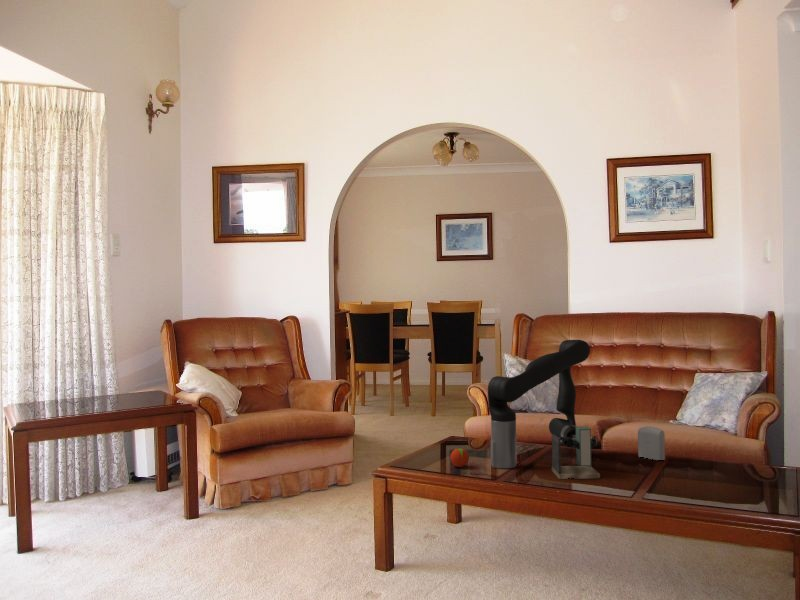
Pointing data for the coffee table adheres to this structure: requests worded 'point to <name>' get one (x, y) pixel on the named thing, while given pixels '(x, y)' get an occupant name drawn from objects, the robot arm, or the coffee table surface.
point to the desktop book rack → (569, 471)
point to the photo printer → (651, 443)
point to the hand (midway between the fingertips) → (585, 445)
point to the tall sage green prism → (583, 446)
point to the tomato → (459, 457)
